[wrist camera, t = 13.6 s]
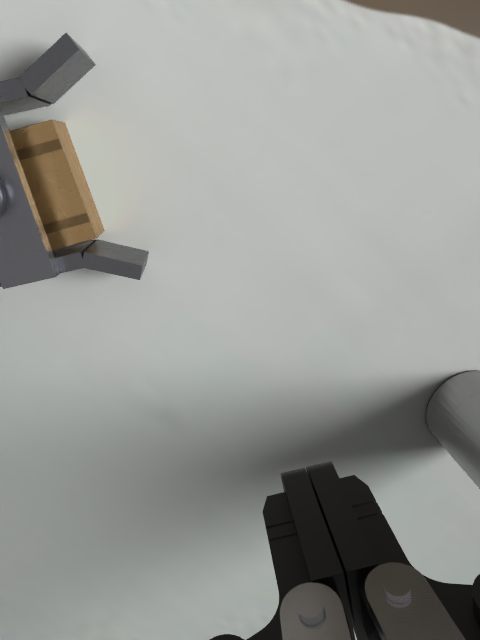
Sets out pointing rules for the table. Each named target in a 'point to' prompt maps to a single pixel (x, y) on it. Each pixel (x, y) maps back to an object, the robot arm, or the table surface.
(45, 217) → the block
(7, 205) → the coupler dock
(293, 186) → the table surface
